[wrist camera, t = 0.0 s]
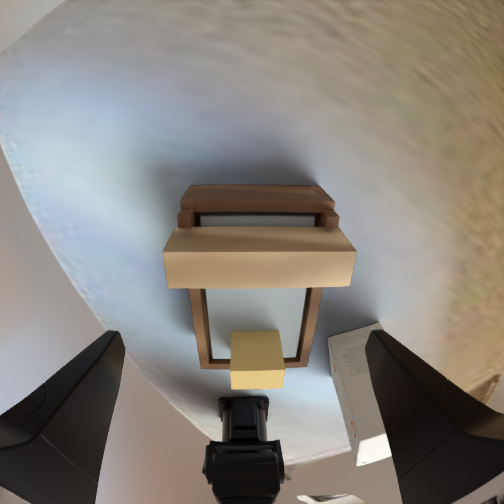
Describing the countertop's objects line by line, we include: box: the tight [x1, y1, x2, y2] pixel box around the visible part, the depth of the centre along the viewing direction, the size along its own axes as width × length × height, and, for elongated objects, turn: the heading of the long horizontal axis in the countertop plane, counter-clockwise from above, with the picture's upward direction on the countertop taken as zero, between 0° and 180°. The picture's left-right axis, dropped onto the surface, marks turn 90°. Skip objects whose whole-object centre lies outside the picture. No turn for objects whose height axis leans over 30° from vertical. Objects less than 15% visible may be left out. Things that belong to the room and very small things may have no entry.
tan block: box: [162, 226, 357, 289], centre depth 18 cm, size 2×11×4 cm, turn 89°
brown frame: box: [177, 184, 339, 369], centre depth 23 cm, size 16×10×5 cm, turn 179°
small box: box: [328, 323, 392, 466], centre depth 25 cm, size 8×6×13 cm
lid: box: [200, 213, 315, 389], centre depth 21 cm, size 14×8×5 cm, turn 179°
